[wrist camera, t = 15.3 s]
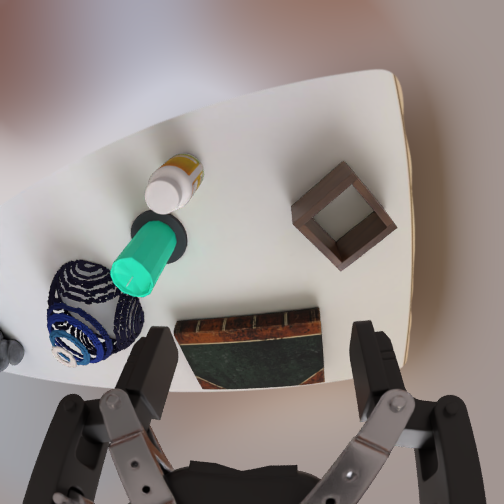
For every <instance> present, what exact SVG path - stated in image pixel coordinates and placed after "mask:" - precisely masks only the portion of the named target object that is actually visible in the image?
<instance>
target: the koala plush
mask: <svg viewBox="0 0 504 504" xmlns="http://www.w3.org/2000/svg"><path fill="white" fill-rule="evenodd" d="M2 339H3V335H2V333H1V332H0V372H1V371H3V370H5V369H6V368H7V367H8V365H9V363H10V364H11V365H17V364H18V363H19V362H21V360H22V359H23V356H24V350H23V347H22V346H21V345H20V344H19V342H17V341H15V340H4V339H3V340H2Z"/></svg>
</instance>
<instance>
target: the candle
mask: <svg viewBox="0 0 504 504" xmlns="http://www.w3.org/2000/svg"><path fill="white" fill-rule="evenodd" d="M176 243H177V241H176V236H175V233H174V232H173V230H172V229H171V228H170V227H169V225H167V224H165V223H163V222H160V221H149V222H148V223H146V224H145V225H144V226H142V227H141V229H140V230H139V231H138V232H137V234H136V235H135V236H134V237H133V239H132V240H131V241H130V242H129V244H128V245H127V246H126V247H125V249H124V250H123V251H122V252H121V254H120V255H119V256H118V258H117V259H116V260H115V262H114V263H113V265H112V269H111V272H110V275H111V278H112V280H113V283H114V284H115V285H116V286H117V287H118V288H119V289H120V290H121V291H122V292H124V293H126V294H129V295H131V296H135V297H145V296H147V295H149V294H150V293H151V291H152V290H153V288H154V286H155V284H156V282H157V280H158V278H159V276H160V274H161V273H162V271H163V269H164V267H165V265H166V263H167V262H168V260H169V258H170V256H171V254H172V252H173V251H174V248H175V246H176Z"/></svg>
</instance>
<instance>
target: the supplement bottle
mask: <svg viewBox="0 0 504 504" xmlns="http://www.w3.org/2000/svg"><path fill="white" fill-rule="evenodd" d="M203 177H204V169H203V166H202V164H201V162H200V161H199V160H198V159H197V158H196V157H194V156H193V155H190V154H178V155H175V156H174V157H172V158H171V159H169V160H168V161H167V162H166V163H165V164H163V165H162V166H161V167H160V168H158V169H157V170H156V171H155V172H154V173H153V174H152V176H151V177H150V179H149V183H148V186H147V188H146V191H145V201H146V203H147V205H148V207H149V208H150V209H151V210H152V211H154V212H156V213H158V214H169V213H171V212H173V211H174V210H178V209H180V208H182V207H183V206H185V205H186V204H187V203H188V201H189V200H190V199H191V197H192V196H193V194H194V193H195V191H196V190H197V189H198V187H199V186H200V184H201V182H202V180H203Z"/></svg>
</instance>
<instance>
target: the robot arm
mask: <svg viewBox="0 0 504 504" xmlns="http://www.w3.org/2000/svg"><path fill="white" fill-rule="evenodd" d="M349 353H350V362H351V367H352V373H353V379H354V385H355V390H356V398H357V404H358V411H359V418H360V422H364V421H366V422H365V424H364V425H363V427H362V428H361V430H360V431H359V433H358V434H357V435H356V436H355V437H353V439H352V440H351V441H350V442H349V444H348V445H347V446H346V448H345V449H344V450H343V452H342V453H341V454H340V456H339V457H338V458H337V460H336V461H335V462H334V464H333V465H332V466H331V468H330V469H329V470H328V471H327V473H326V474H325V475H324V476H323V478H322V479H319V478H317V477H316V476H314V475H312V474H309V473H306V472H302V471H297V465H286V466H285V465H283V466H282V465H281V466H266V467H261V468H256V469H251V470H245V471H240V470H236V469H233V468H229V467H226V466H223V465H220V464H217V463H209V462H199V461H190V465H189V467H183V468H179V469H176V470H174V468H173V467H172V465H171V464H170V462H169V461H168V459H167V458H166V456H165V454H164V452H163V451H162V448H161V446H160V444H159V443H158V440H157V438H156V436H155V434H154V432H153V430H152V428H151V426H150V422H151V419H157V420H160V419H161V415H162V412H163V408H164V405H165V402H166V398H167V395H168V392H169V389H170V385H171V382H172V379H173V375H174V372H175V369H176V366H177V363H178V349H177V347H176V344H175V342H174V339H173V337H172V334H171V331H170V329H169V327H162V326H152V327H151V328H150V329H149V332H148V334H147V336H146V337H141V338H140V339H139V340H138V341H137V342H136V343H135V344H134V346H133V348H132V351H131V353H130V355H129V357H128V359H127V362H126V364H125V366H124V368H123V371H122V373H121V375H120V378H119V380H118V382H117V385H116V387H115V389H112V390H109V391H107V392H106V393H105V394H104V395H103V396H102V397H101V399H95V400H87V401H84V400H83V399H82V398H81V397H80V396H79V395H77V394H70V395H67V396H65V397H64V398H63V399H62V400H61V401H60V403H59V405H58V407H57V410H56V412H55V414H54V417H53V419H52V421H51V424H50V426H49V429H48V431H47V434H46V436H45V439H44V442H43V444H42V447H41V450H40V453H39V455H38V458H37V461H36V464H35V466H34V469H33V472H32V475H31V478H30V481H29V484H28V488H27V491H26V494H25V497H24V500H23V504H95V503H94V498H95V494H96V490H97V486H98V482H99V478H100V475H101V471H102V467H103V463H104V460H105V456H106V453H107V449H108V447H109V451H110V453H111V456H112V459H113V462H114V464H115V467H116V469H117V472H118V475H119V477H120V479H121V482H122V484H123V486H124V489H125V491H126V493H127V496H128V498H129V500H130V503H129V504H357V503H358V502H359V500H360V499H361V497H362V496H363V495H364V493H365V492H366V490H367V489H368V488H369V486H370V485H371V483H372V481H373V480H374V479H375V477H376V476H377V474H378V473H379V471H380V470H381V468H382V466H383V465H384V463H385V462H386V460H387V458H388V457H389V455H390V453H391V451H392V449H393V447H394V446H401V447H409V448H414V451H415V459H416V468H417V477H418V487H419V500H420V504H486V497H485V491H484V484H483V478H482V473H481V467H480V462H479V457H478V452H477V448H476V443H475V439H474V435H473V431H472V427H471V423H470V419H469V416H468V412H467V408H466V405H465V403H464V402H463V400H462V399H460V398H459V397H457V396H454V395H446V396H443V397H441V398H440V399H439V400H438V401H437V402H431V401H422V400H418V399H415V398H414V397H412V395H411V394H410V393H408V392H407V391H406V389H405V387H404V383H403V380H402V376H401V373H400V369H399V366H398V362H397V359H396V356H395V353H394V351H393V346H392V343H391V340H390V339H389V337H388V336H387V335H386V334H385V333H384V332H383V331H380V332H375V331H374V328H373V325H372V322H371V320H367V321H356V322H353V326H352V333H351V340H350V348H349ZM109 442H111V443H110V444H109Z"/></svg>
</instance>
